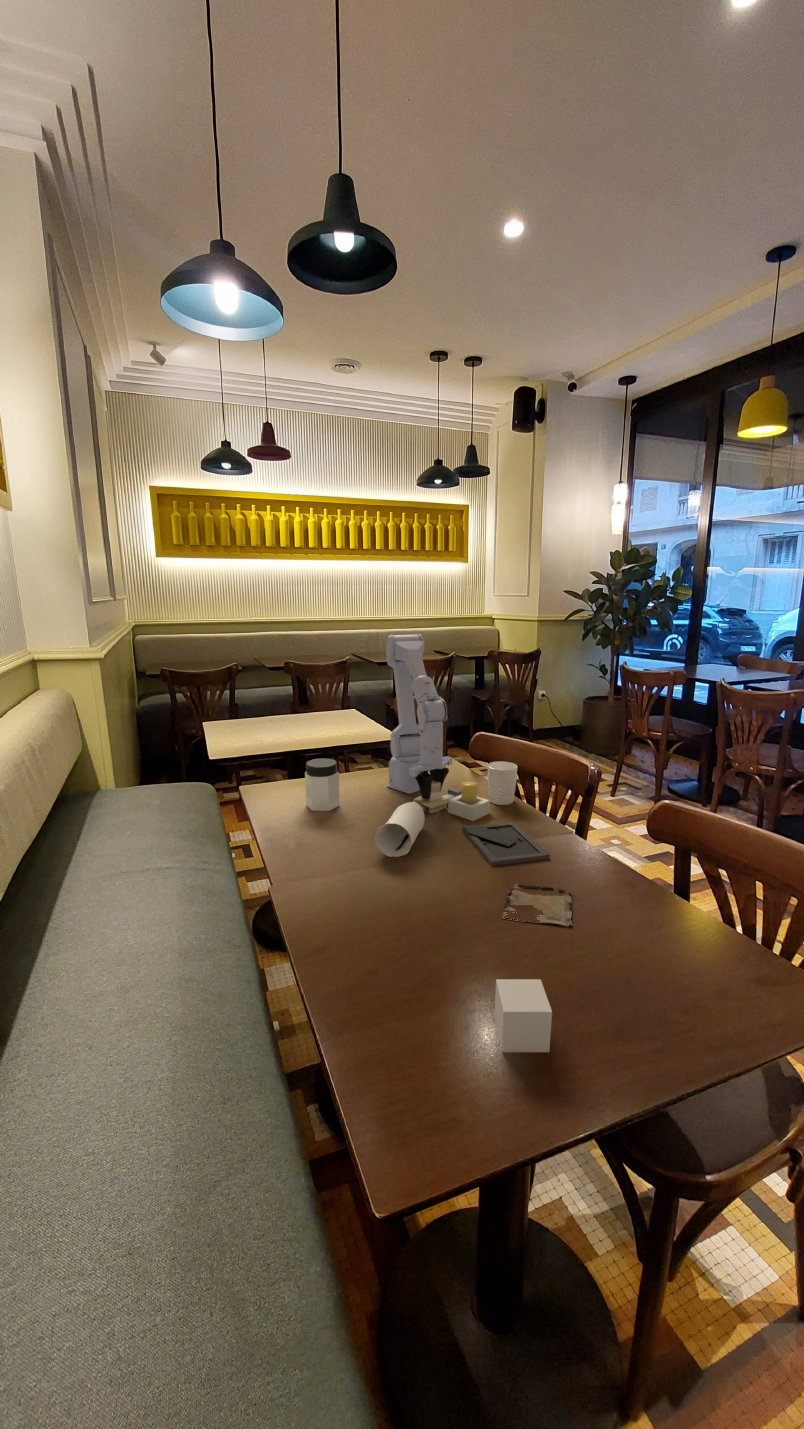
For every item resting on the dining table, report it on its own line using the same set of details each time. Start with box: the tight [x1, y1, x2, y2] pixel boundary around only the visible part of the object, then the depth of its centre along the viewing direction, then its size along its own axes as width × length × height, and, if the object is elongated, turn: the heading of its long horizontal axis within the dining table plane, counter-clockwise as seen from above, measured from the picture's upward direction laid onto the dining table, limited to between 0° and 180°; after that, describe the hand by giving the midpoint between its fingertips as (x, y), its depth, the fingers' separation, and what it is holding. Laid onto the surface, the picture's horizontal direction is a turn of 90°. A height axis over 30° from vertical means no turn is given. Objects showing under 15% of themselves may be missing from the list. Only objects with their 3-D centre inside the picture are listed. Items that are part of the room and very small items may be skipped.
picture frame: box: [461, 821, 551, 867], centre depth 130 cm, size 13×2×18 cm
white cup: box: [487, 761, 518, 806], centre depth 156 cm, size 8×8×10 cm
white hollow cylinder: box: [374, 800, 425, 858], centre depth 132 cm, size 8×19×8 cm, turn 163°
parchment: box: [501, 883, 574, 928], centre depth 106 cm, size 12×13×1 cm
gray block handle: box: [421, 787, 462, 815], centre depth 151 cm, size 4×20×2 cm, turn 136°
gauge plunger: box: [461, 781, 478, 802], centre depth 147 cm, size 4×4×4 cm
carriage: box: [413, 780, 448, 814], centre depth 151 cm, size 6×6×7 cm
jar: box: [304, 757, 341, 812], centre depth 152 cm, size 9×8×12 cm
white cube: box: [494, 978, 553, 1053], centre depth 75 cm, size 6×6×6 cm
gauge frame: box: [447, 795, 491, 822], centre depth 148 cm, size 8×7×4 cm
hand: (430, 796), depth 151 cm, fingers closed on carriage, 3 cm apart
